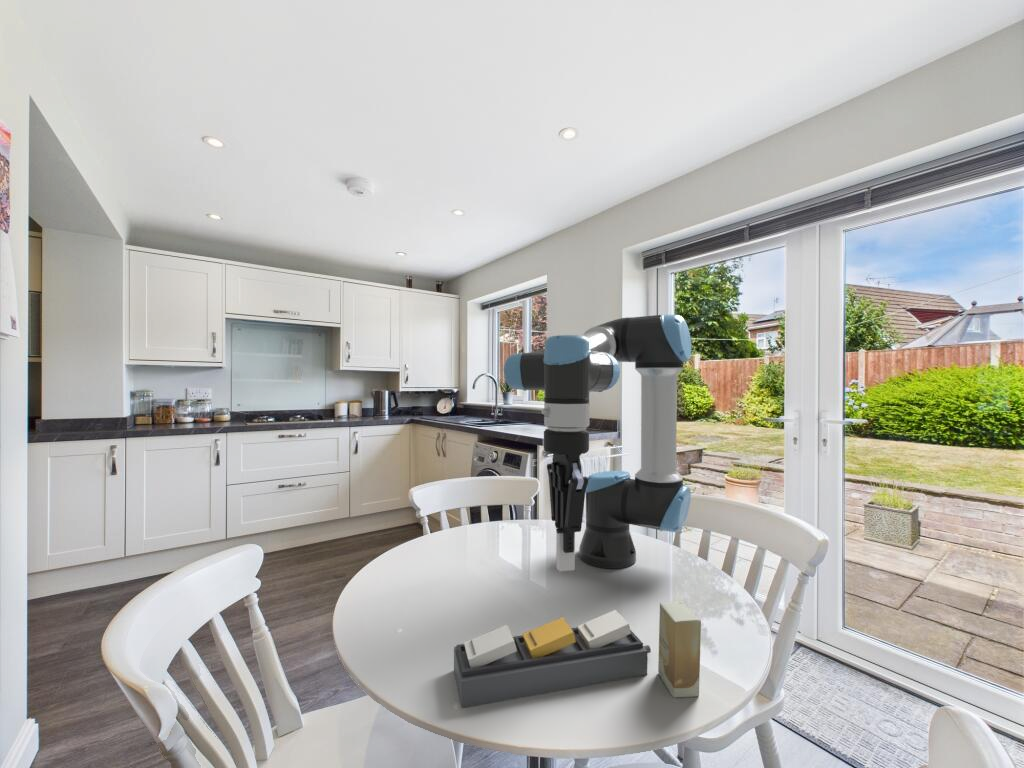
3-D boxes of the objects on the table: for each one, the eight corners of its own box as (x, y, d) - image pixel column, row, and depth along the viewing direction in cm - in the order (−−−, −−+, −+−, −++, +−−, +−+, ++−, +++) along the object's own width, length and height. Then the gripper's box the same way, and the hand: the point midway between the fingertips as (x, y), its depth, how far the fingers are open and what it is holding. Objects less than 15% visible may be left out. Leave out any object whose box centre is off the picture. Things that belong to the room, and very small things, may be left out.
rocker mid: (565, 626, 80) (562, 615, 80) (576, 641, 75) (573, 630, 75) (524, 643, 78) (522, 632, 78) (533, 660, 74) (530, 649, 73)
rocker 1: (509, 634, 78) (506, 623, 77) (517, 651, 73) (514, 639, 73) (466, 652, 76) (463, 641, 76) (471, 670, 71) (467, 658, 71)
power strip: (635, 641, 86) (636, 616, 86) (663, 671, 77) (663, 643, 77) (453, 670, 77) (453, 642, 77) (461, 707, 69) (461, 676, 69)
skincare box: (657, 672, 77) (657, 600, 77) (682, 671, 77) (682, 599, 77) (674, 699, 70) (674, 620, 70) (701, 698, 71) (701, 619, 71)
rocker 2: (617, 618, 82) (615, 608, 82) (631, 633, 78) (628, 622, 78) (579, 635, 81) (576, 624, 81) (591, 651, 76) (588, 640, 76)
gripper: (533, 424, 82) (532, 556, 82) (558, 433, 69) (557, 588, 70) (572, 424, 84) (571, 552, 84) (604, 432, 71) (603, 583, 72)
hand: (565, 568), depth 77 cm, fingers closed
